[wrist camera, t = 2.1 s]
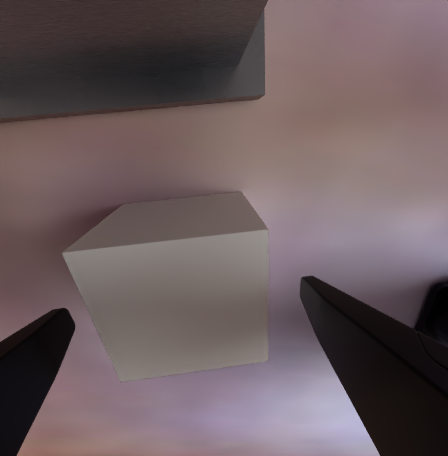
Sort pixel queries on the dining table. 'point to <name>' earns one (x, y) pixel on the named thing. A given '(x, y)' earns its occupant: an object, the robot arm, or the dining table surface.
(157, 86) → the motor housing
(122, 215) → the plain white cube
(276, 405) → the dining table surface
